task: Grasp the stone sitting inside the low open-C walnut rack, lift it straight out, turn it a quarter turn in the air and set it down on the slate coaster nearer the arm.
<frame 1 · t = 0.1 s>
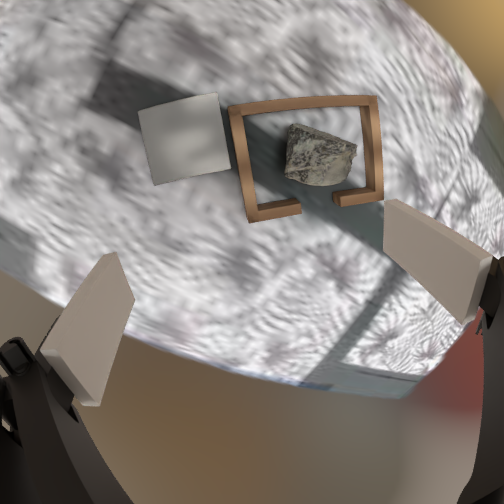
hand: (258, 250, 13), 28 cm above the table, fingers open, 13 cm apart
walnut rack: (309, 152, 38), on the table
slate coaster: (184, 138, 35), on the table
stone: (309, 152, 38), on the table
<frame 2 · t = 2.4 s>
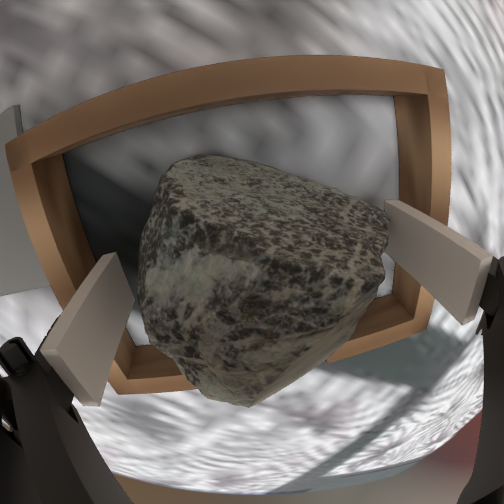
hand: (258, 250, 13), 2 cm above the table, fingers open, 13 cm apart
walnut rack: (251, 231, 15), on the table
stone: (250, 229, 15), on the table, touching gripper
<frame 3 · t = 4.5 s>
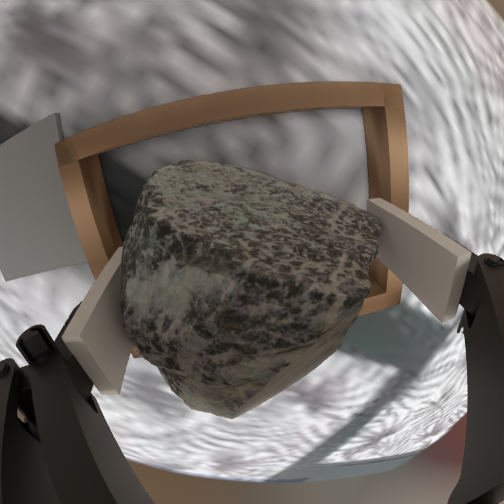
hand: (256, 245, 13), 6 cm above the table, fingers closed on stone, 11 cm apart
walnut rack: (247, 217, 19), on the table
slate coaster: (23, 206, 16), on the table
stone: (238, 235, 15), point 4 cm above the table, touching gripper
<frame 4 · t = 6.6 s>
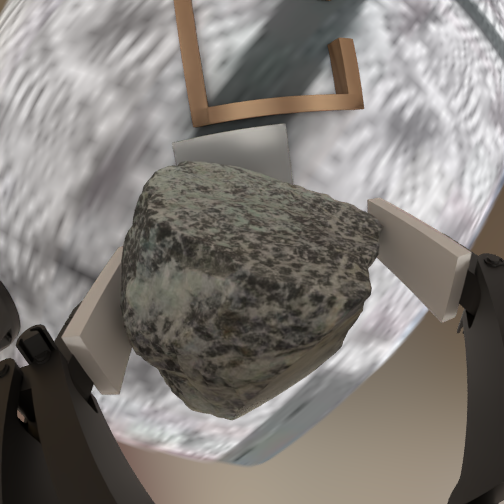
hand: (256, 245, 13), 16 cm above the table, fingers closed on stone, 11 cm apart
walnut rack: (261, 21, 21), on the table
slate coaster: (237, 184, 28), on the table
stone: (239, 235, 15), point 14 cm above the table, touching gripper
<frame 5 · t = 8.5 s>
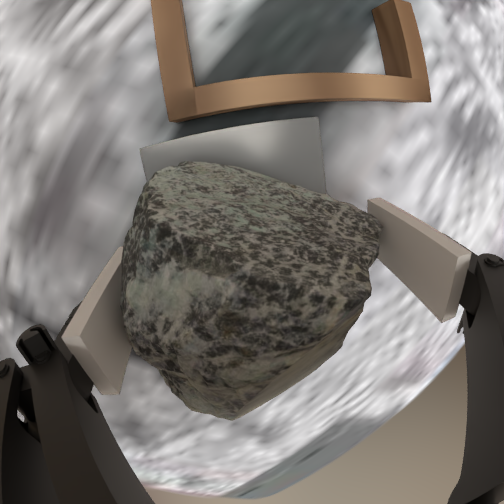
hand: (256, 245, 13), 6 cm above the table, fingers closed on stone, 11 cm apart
slate coaster: (243, 211, 18), on the table
stone: (239, 236, 15), point 4 cm above the table, touching gripper
when the fingers open (4 cm above the table, at t = 10.0 s): stone drops 2 cm, resting on slate coaster.
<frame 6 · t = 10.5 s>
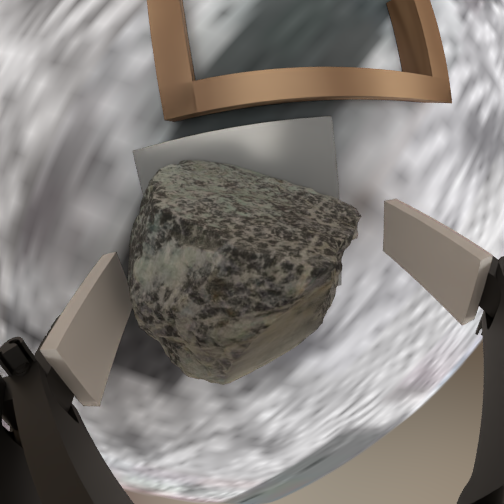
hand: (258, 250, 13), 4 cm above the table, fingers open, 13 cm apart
slate coaster: (248, 220, 17), on the table
stone: (233, 226, 16), resting on slate coaster
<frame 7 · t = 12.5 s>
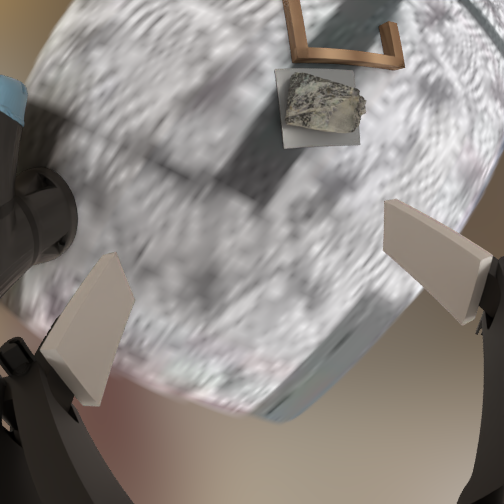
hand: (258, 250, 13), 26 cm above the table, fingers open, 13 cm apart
walnut rack: (336, 4, 26), on the table
slate coaster: (319, 106, 33), on the table
stone: (313, 107, 33), resting on slate coaster
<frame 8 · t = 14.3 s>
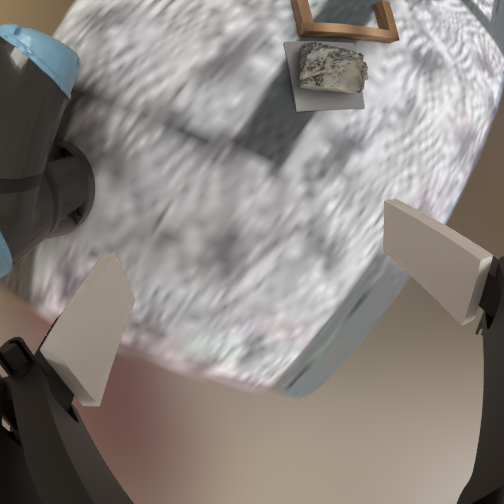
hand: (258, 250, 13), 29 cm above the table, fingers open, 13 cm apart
slate coaster: (325, 75, 34), on the table
stone: (320, 75, 34), resting on slate coaster
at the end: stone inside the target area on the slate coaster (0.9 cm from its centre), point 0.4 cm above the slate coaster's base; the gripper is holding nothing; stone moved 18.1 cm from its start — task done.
